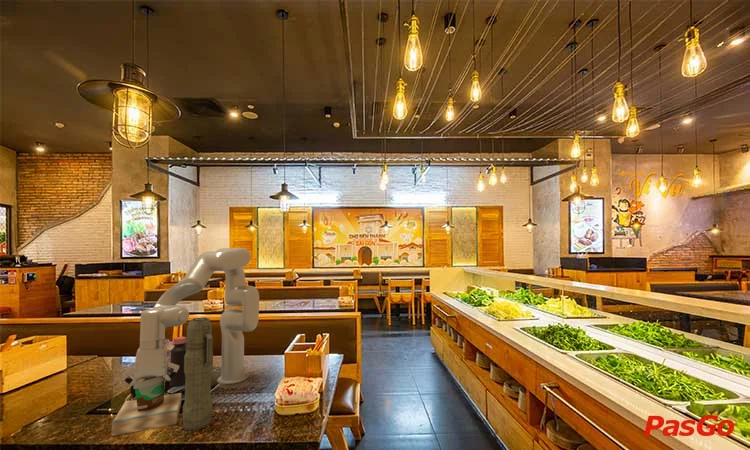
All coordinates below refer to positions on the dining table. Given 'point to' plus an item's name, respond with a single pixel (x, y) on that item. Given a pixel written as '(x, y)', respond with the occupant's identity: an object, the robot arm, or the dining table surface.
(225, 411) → the dining table surface
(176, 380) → the bottle
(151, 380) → the food container
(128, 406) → the dock
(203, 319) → the thermos
